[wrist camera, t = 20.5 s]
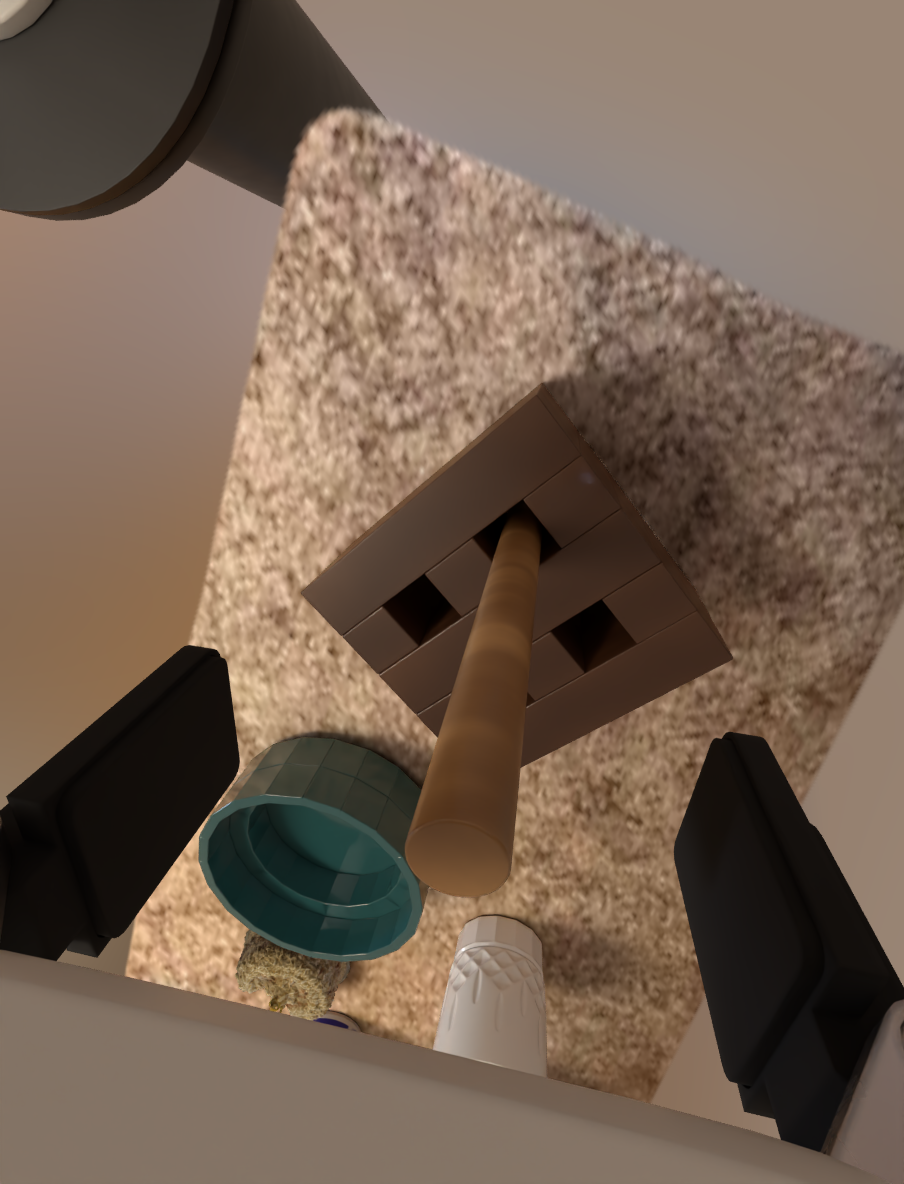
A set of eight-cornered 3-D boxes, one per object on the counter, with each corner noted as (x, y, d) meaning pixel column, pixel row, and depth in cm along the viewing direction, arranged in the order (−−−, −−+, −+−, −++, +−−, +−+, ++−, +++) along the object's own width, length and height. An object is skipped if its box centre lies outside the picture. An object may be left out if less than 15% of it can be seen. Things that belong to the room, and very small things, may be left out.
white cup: (559, 923, 41) (559, 1082, 33) (540, 983, 45) (536, 1142, 36) (458, 899, 42) (431, 1047, 33) (447, 959, 46) (420, 1108, 37)
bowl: (207, 786, 42) (156, 851, 37) (338, 696, 36) (299, 757, 31) (342, 908, 46) (312, 983, 40) (482, 843, 39) (470, 922, 34)
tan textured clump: (265, 892, 47) (234, 952, 42) (368, 939, 48) (349, 1004, 43) (234, 958, 51) (202, 1020, 46) (330, 1001, 51) (309, 1067, 46)
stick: (503, 503, 29) (381, 845, 9) (530, 482, 28) (462, 805, 8) (524, 529, 29) (451, 911, 9) (551, 509, 28) (533, 878, 9)
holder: (351, 543, 31) (299, 593, 25) (542, 382, 26) (536, 394, 20) (497, 706, 34) (483, 787, 28) (696, 591, 29) (734, 659, 23)
